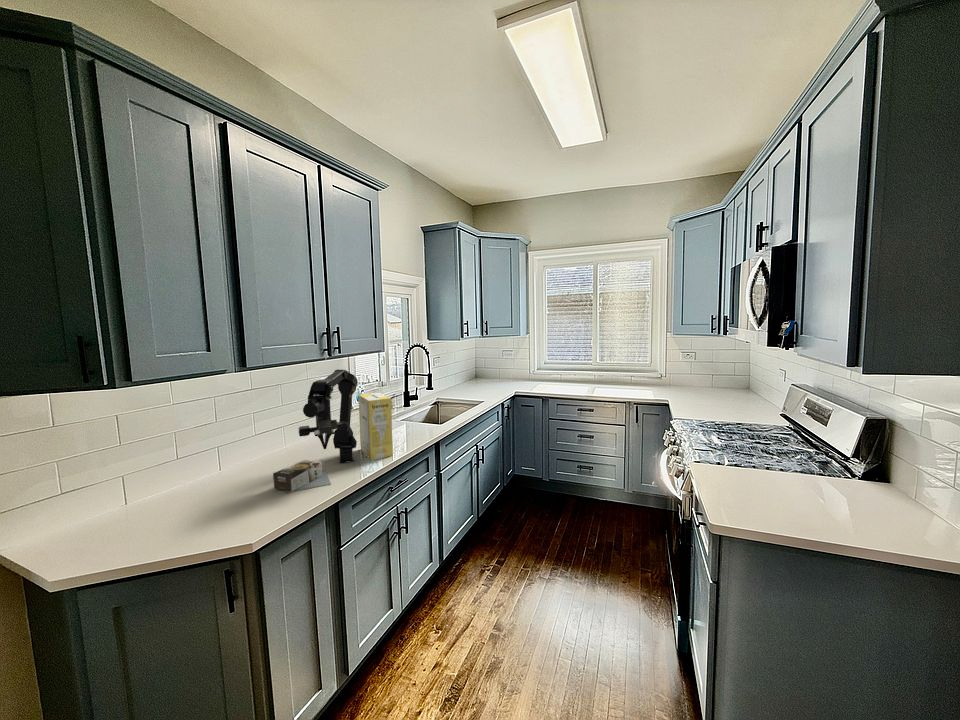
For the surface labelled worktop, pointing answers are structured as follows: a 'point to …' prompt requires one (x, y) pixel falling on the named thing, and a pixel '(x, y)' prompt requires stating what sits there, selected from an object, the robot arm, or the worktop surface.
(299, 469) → the coffee box
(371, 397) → the pasta box
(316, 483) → the mat
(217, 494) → the worktop surface
